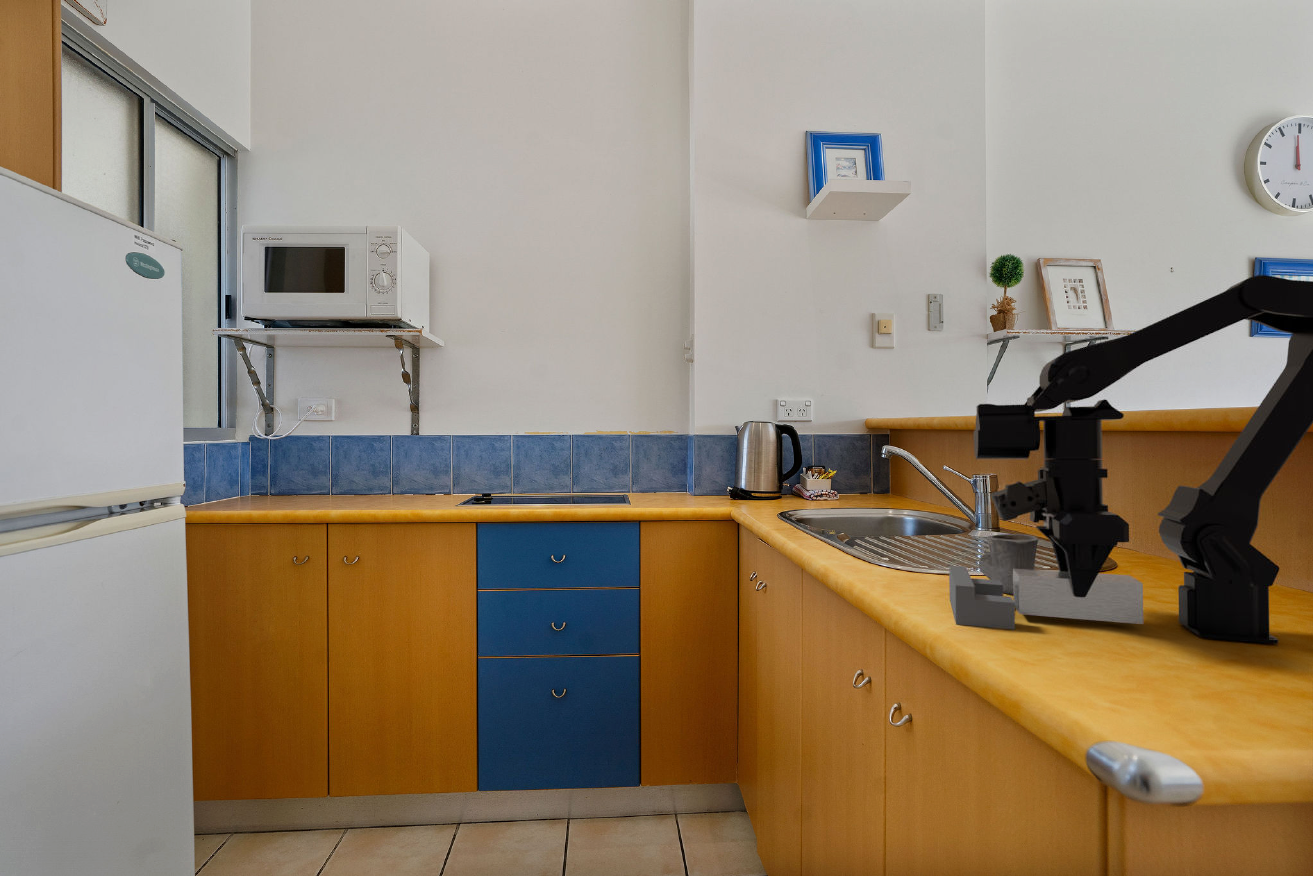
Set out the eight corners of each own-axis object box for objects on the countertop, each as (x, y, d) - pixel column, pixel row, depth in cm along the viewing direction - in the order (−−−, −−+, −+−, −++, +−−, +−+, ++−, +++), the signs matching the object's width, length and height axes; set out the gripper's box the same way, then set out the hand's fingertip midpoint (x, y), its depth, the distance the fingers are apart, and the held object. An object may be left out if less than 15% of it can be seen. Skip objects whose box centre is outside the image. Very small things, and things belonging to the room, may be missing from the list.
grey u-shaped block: (1000, 603, 82) (999, 568, 82) (1015, 629, 71) (1014, 589, 71) (949, 599, 84) (949, 565, 85) (955, 624, 73) (955, 585, 73)
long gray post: (1130, 613, 74) (1129, 575, 74) (1143, 624, 69) (1142, 583, 70) (1013, 604, 78) (1012, 568, 78) (1019, 614, 74) (1018, 575, 74)
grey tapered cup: (1007, 579, 96) (1006, 527, 96) (1050, 600, 84) (1049, 540, 84) (965, 579, 97) (965, 527, 97) (1002, 599, 84) (1001, 540, 84)
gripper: (986, 457, 86) (988, 572, 86) (1005, 461, 68) (1007, 605, 68) (1083, 457, 81) (1084, 578, 81) (1129, 461, 64) (1132, 615, 64)
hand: (1074, 592), depth 74 cm, fingers closed on long gray post, 4 cm apart
